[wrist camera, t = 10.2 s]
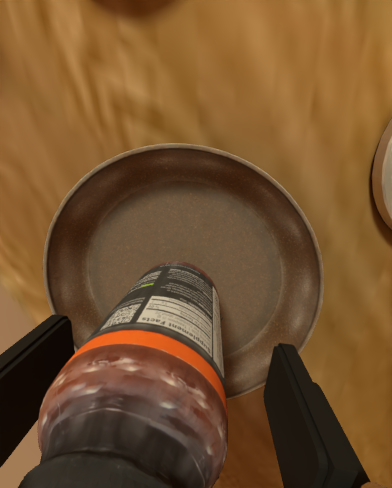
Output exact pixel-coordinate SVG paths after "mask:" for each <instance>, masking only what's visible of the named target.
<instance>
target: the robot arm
mask: <svg viewBox="0 0 392 488" xmlns="http://www.w3.org/2000/svg"><path fill="white" fill-rule="evenodd" d="M372 185H373V195H374V199H375V203H376V206H377V209H378V211H379V213H380V215H381V217H382V218H383V220H384V222H385V223H386V224H387V225H388V226H389V227H390V229H391V230H392V118H391V120H390V122H389V124H388V126H387V128H386V130H385V131H384V133H383V135H382V137H381V140H380V143H379V146H378V149H377V152H376V155H375V159H374V166H373V172H372ZM74 354H75V350H74V341H73V332H72V324H71V320H69V318H68V316H64V315H56V314H54V315H52V316H50V317H49V318H47V319H46V320H45V321H44V322H42V323H41V324H40V325H38V326H37V327H36V328H35V329H33V330H32V331H31V332H29V333H28V334H27V335H26V336H24V337H23V338H22V339H20V340H19V341H18V342H16V343H15V344H14V345H13V346H11V347H10V348H9V349H7V350H6V351H5V352H3V353H2V354H1V355H0V467H1V466H2V465H3V464H4V463H5V461H6V460H7V459H8V457H9V456H10V455H11V454H12V452H13V451H14V450H15V448H16V447H17V446H18V444H19V443H20V442H21V441H22V439H23V438H24V437H25V435H26V434H27V433H28V431H29V430H30V429H31V428H32V426H33V425H34V424H35V422H36V421H37V420H38V419H39V413H40V408H41V405H42V403H43V399H44V397H45V395H46V393H47V391H48V389H49V387H50V386H51V384H52V383H53V381H54V380H55V378H56V377H57V375H58V374H59V372H60V371H61V369H62V368H63V367H64V366H65V365H66V363H67V362H68V361H69V360H70V359H71V357H72V356H73V355H74ZM264 403H265V407H266V411H267V416H268V420H269V424H270V429H271V433H272V437H273V442H274V446H275V450H276V455H277V459H278V463H279V468H280V472H281V476H282V481H283V485H284V488H387V487H385V486H383V485H380V484H378V483H372V482H370V480H369V478H368V476H367V474H366V472H365V471H364V469H363V467H362V465H361V463H360V461H359V459H358V457H357V455H356V454H355V452H354V450H353V448H352V446H351V444H350V442H349V440H348V438H347V437H346V435H345V433H344V431H343V429H342V427H341V425H340V423H339V422H338V420H337V418H336V416H335V414H334V412H333V410H332V408H331V406H330V405H329V403H328V401H327V399H326V397H325V395H324V393H323V391H322V390H321V388H320V386H319V385H318V384H317V383H314V382H313V381H312V379H311V377H310V375H309V373H308V371H307V369H306V368H305V366H304V364H303V362H302V360H301V358H300V356H299V354H298V352H297V350H296V348H295V346H294V345H292V344H284V343H279V344H278V346H274V348H273V353H272V357H271V362H270V366H269V371H268V375H267V380H266V384H265V389H264Z"/></svg>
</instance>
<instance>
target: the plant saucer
mask: <svg viewBox="0 0 392 488" xmlns="http://www.w3.org/2000/svg"><path fill="white" fill-rule="evenodd" d="M170 261H182V262H186V263H190V264H192V265H195V266H196V267H198V268H200V269H201V270H203V271H204V272H205V273H206V274H207V275H208V276H209V277H210V278H211V280H212V281H213V283H214V285H215V287H216V289H217V292H218V296H219V302H220V313H221V318H222V317H223V319H222V321H221V328H222V343H223V354H224V372H225V387H226V400H229V399H233V398H236V397H239V396H242V395H245V394H247V393H249V392H251V391H253V390H256V389H258V388H260V387H262V386H263V385H265V384H266V380H267V375H268V371H269V366H270V362H271V357H272V353H273V348H274V346H278V344H279V343H284V344H292V345H294V346H295V348H296V350H297V352H298V354H300V353H301V351H302V350H303V348H304V347H305V345H306V344H307V342H308V340H309V339H310V337H311V335H312V332H313V330H314V328H315V326H316V323H317V321H318V318H319V314H320V311H321V306H322V301H323V291H324V270H323V264H322V256H321V252H320V248H319V245H318V242H317V239H316V236H315V234H314V231H313V229H312V227H311V225H310V223H309V221H308V219H307V218H306V216H305V215H304V213H303V211H302V210H301V208H300V207H299V205H298V204H297V203H296V201H295V200H294V199H293V198H292V197H291V195H290V194H289V193H288V192H287V191H286V190H285V189H284V188H283V187H282V186H281V185H280V184H279V183H278V182H277V181H276V180H275V179H273V178H272V177H271V176H270V175H268V174H267V173H266V172H264V171H263V170H262V169H260V168H258V167H257V166H255V165H253V164H252V163H250V162H248V161H246V160H244V159H242V158H240V157H238V156H235V155H233V154H230V153H228V152H225V151H222V150H218V149H215V148H210V147H206V146H201V145H194V144H182V143H167V144H158V145H150V146H145V147H141V148H137V149H134V150H130V151H127V152H124V153H122V154H119V155H117V156H115V157H113V158H111V159H109V160H107V161H105V162H103V163H102V164H100V165H98V166H97V167H96V168H94V169H93V170H91V171H90V172H89V173H87V174H86V175H85V176H84V177H83V178H82V179H81V180H80V181H79V182H78V183H77V184H76V185H75V186H74V187H73V188H72V189H71V190H70V191H69V193H68V194H67V195H66V197H65V198H64V199H63V201H62V202H61V204H60V206H59V208H58V210H57V212H56V213H55V215H54V217H53V220H52V222H51V224H50V227H49V230H48V234H47V238H46V242H45V248H44V256H43V277H44V285H45V290H46V295H47V299H48V302H49V306H50V308H51V311H52V313H53V315H54V314H56V315H64V316H68V318H69V320H71V324H72V332H73V341H74V350H75V351H76V352H77V351H78V349H79V348H80V347H81V346H82V345H83V343H84V342H85V341H86V340H87V339H88V338H89V337H90V335H91V334H92V333H93V332H94V331H95V330H96V329H97V327H98V326H99V325H100V324H101V323H102V322H103V320H104V319H105V318H106V317H107V316H108V314H109V313H110V312H111V311H112V310H113V309H114V308H115V306H116V305H117V304H118V303H119V302H120V301H121V300H122V298H123V297H124V296H125V295H126V294H127V293H128V292H129V290H130V289H131V288H132V287H133V286H134V284H135V283H136V282H137V281H138V280H139V279H140V278H141V277H142V276H143V274H145V273H146V272H147V271H148V270H149V269H151V268H153V267H154V266H156V265H158V264H161V263H164V262H170Z"/></svg>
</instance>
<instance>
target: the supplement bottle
mask: <svg viewBox="0 0 392 488" xmlns="http://www.w3.org/2000/svg"><path fill="white" fill-rule="evenodd" d="M222 319H223V317H222V318H221V313H220V302H219V296H218V292H217V289H216V287H215V285H214V283H213V281H212V280H211V278H210V277H209V276H208V275H207V274H206V273H205V272H204V271H203V270H201V269H200V268H198V267H196V266H195V265H192V264H190V263H186V262H182V261H170V262H164V263H161V264H158V265H156V266H154V267H153V268H151V269H149V270H148V271H147V272H146V273H145V274H143V276H142V277H141V278H140V279H139V280H138V281H137V282H136V283H135V284H134V286H133V287H132V288H131V289H130V290H129V292H128V293H127V294H126V295H125V296H124V297H123V298H122V300H121V301H120V302H119V303H118V304H117V305H116V306H115V308H114V309H113V310H112V311H111V312H110V313H109V314H108V316H107V317H106V318H105V319H104V320H103V322H102V323H101V324H100V325H99V326H98V327H97V329H96V330H95V331H94V332H93V333H92V334H91V335H90V337H89V338H88V339H87V340H86V341H85V342H84V343H83V345H82V346H81V347H80V348H79V349H78V351H77V352H76V353H75V354H74V355H73V356H72V357H71V359H70V360H69V361H68V362H67V363H66V365H65V366H64V367H63V368H62V369H61V371H60V372H59V374H58V375H57V377H56V378H55V380H54V381H53V383H52V384H51V386H50V387H49V389H48V391H47V393H46V395H45V397H44V399H43V403H42V405H41V408H40V413H39V420H38V443H39V448H40V450H41V453H42V456H41V461H40V464H39V465H38V466H36V467H35V468H33V469H32V470H31V471H30V472H28V473H27V474H26V476H25V477H24V479H23V480H22V481H21V483H20V485H19V487H18V488H212V487H213V485H214V484H215V482H216V480H217V479H218V478H219V474H220V472H221V470H222V468H223V465H224V462H225V458H226V453H227V446H228V418H227V404H226V387H225V372H224V354H223V343H222V328H221V321H222Z"/></svg>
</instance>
